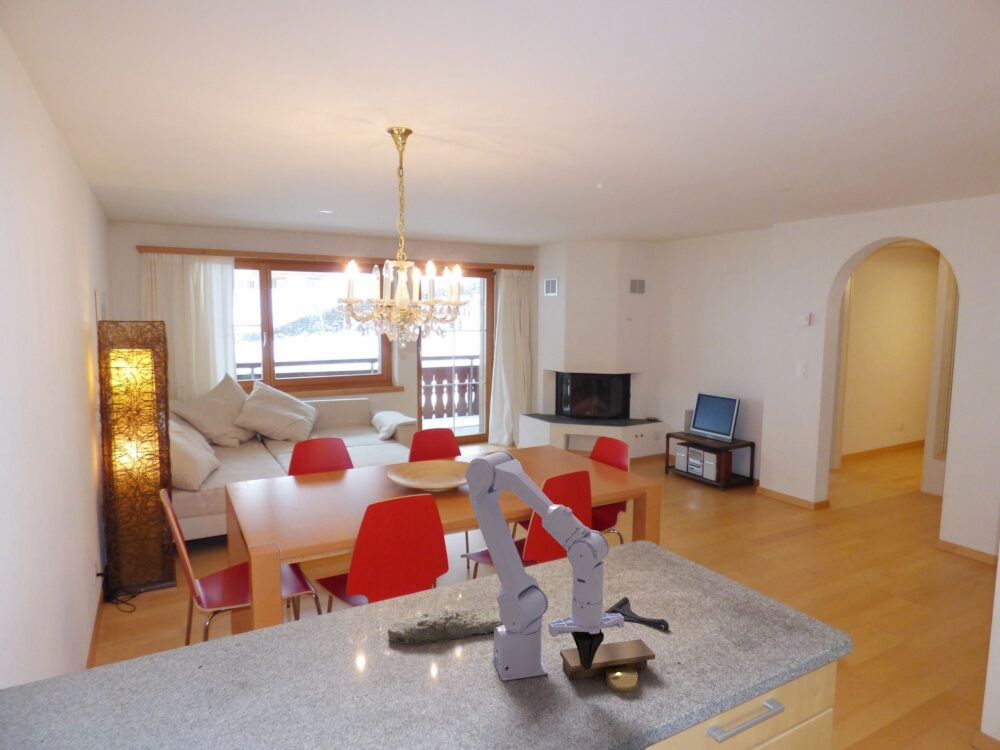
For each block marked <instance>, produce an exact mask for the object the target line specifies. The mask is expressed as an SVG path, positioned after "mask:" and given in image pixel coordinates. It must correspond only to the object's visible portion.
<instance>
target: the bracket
mask: <svg viewBox="0 0 1000 750" xmlns="http://www.w3.org/2000/svg"><path fill="white" fill-rule="evenodd" d="M630 606H631V605H630V600H629V598H628V597H626V596H624V597H623V598H621V599H620V600H619V601H618V602H616V603H614V604H613V605H612V606H611V607H609V609H607V610H606V611H604V612H603V613H608V614H616V613H620V614H621V615H622V616H623V617H624V622H632V621H633V622H634V623H639V624H643V623H644V625H646V624H647V626H648V625H649V627H651V626H653V627H652V628H654V627H655V628H654V629H657V628H658V629H657V630H660V629H661V628H662V627H663V628H664V629H663V628H662V629H663V630H664V631H663V630H662V631H663V632H667V631H668V630H669V629H670V626H669V623H668V622H667V620H666V619H661V618H660V619H659V618H658V619H657V618H649V617H645V616H644V617H642V616H639V615H637V614H636V613H635V612H634V611H633V610H632V609H631V607H630ZM621 609H622V610H621ZM633 622H632V623H633ZM660 626H661V627H660Z"/></svg>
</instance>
